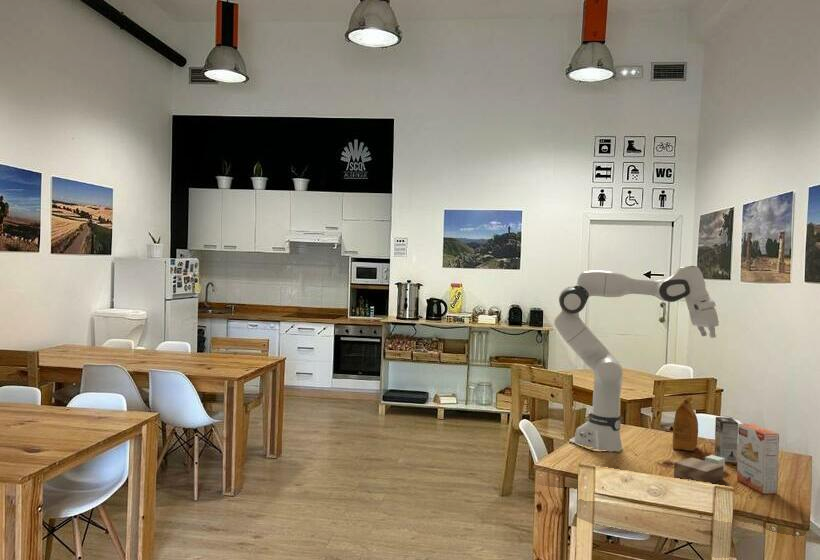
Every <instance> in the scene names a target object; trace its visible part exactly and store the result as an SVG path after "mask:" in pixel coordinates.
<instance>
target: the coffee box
mask: <svg viewBox="0 0 820 560" xmlns="http://www.w3.org/2000/svg"><path fill="white" fill-rule="evenodd" d="M738 427H739V422H737V421H736V420H735V419H734V418H733V417H726V416H725V417H724V416H723V417H722V416H716V417H715V427H714V428H715V431H714V432H715V433H714V434H715V435H714V456H718V457H722V458H725V463H736V464H737V463H738Z"/></svg>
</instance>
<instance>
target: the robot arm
mask: <svg viewBox="0 0 820 560" xmlns="http://www.w3.org/2000/svg"><path fill="white" fill-rule="evenodd" d="M626 295H627V296H628V295H644V296H653V297H656V298H658V299H659V300H661V301H664V302H667V303H668V302H669V303H675V302H678V301H679V300H682V299H683V298H684V300H685V304H686V306H687V309H688V313H689V316H690V317H689V318H690V321H691V324H692V325H693V326H696V327H697V329H698V331H699V333H700V335H701V337H707V331H706V329H705V328H707V329H708V331H709V333H708V334H709V338H712V339H713V338H716V337H717V334H716V327H719V325H720V324H719V322H720V321H719V317H718V313H717V309H716V308H715V307H716V306H717V305H716V303H715V301H714V300H713V299H712V298H711V297H710V296H709V295H710V294H709V293H708V290H707V288H706V281H705V278H704V275H703V273H702V271H701V269H700V267H698V266H695V265H685V266H680V267H678V268H677V270H675V272H674V273H673V274H671V275H670V276H669V277H664V278H661V279H657V280H648V279H647V280H645V279H637V278H633V277H632V278H631V277H629V276H627V275H625V274H622V273H619V272H615V271H611V270H586V271H582V272H581V273H580V274H579V276H578V277H577V282H576V285H573V286H568V287H566V288H564V289H563V290H562V291H561V292H560V294H559V297H558V303H559V307H560V308H561V312H560V313H558V315H557V316H556V318H555V319H554V322H553V324H554V326H555V328H556V330H557V331H558V333H559V334H560V336H561V338H562V339H563V340H564V342H566V343H567V344H568V346H569V347H570V348H571V350H573V352H574V353H575V354H576V355H577V356H578V358H580V360H582V362H583V363H584V364H585V365H586V366H587V367H588V368H589V369H590V370H591V371H592V373H593V374H594V381H593V390H592V391H593V393H592V412H590V413H587V414H586V417H587V418H589V419H588V421H585V423H582V424H581V425H579V426H578V427H576V429H575V431H574V432H575V433H574V437H572V438H570V439H569V441H568V442H569V443H570V441H571V442H573V443H577V444H580V445H583V446H587V447H593V448H591V449H599V450H606V451H619V452H621V451H620V450H622V449H623V448H624V447H623V446H622V445H623V444H622V440H621V439H622V438H621V422H622V421H621V420H622V419H621V415H620V413H621V394H622V393H621V392H622V385H623V375H624V374H623V367H622V365H621V364H620V362H619V361H618V360H617V358H616V357H615V356H614V355H613V354H612V353H611V352H610V351H609V350H608V348H607V347H606V346H605V345H604V344H603V343H602V342H601V341H600V340H599V338H598V337H597V336H596V335H595V334H594V332H593V331H592V330H591V329H590V328H589V327H588V325H586V323H585V322H584V321H583V320H582V319H581V317H580V312H582V311H583V309H585V307H586V304H587V302H588V300H589V298H590V297H601V298H603V297H604V298H621V297H623V296H626ZM573 443H572V444H573ZM623 450H624V449H623ZM623 450H622V451H623Z"/></svg>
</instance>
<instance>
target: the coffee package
mask: <svg viewBox="0 0 820 560" xmlns="http://www.w3.org/2000/svg"><path fill="white" fill-rule="evenodd" d="M682 399H683V402H682V403H681V404H680V405H679V406H678V408H677V409H676V411H675V414H674V421H673V428H672V444H671V445H672V449H673V450H679V451H688V452H691V451H692V452H694V451H695V450H696V448H697V445H698V438H699V422H698V417H697V415H696V413H695V411H694V409H693V407H692V405H691V401H693V397H692V396H691V395H688V396H686V397H683V398H682Z"/></svg>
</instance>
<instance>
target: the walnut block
mask: <svg viewBox="0 0 820 560" xmlns="http://www.w3.org/2000/svg"><path fill="white" fill-rule="evenodd" d="M673 463H674V464H673V466H674V467H673V477H676V478H679V479H682V478H685V479H691V480H696V481H703V482H710V483H713V484H715V483H717V482H716V481H718V482H720V481H719V480H721V481H723V480H724V472H723V466H722V465H718V464H714V463H711V462H707V461H705V460H702V459H699V458H696V457H691V456H690V457H687V458H685V459H682V460H679V461H675V462H673ZM685 479H684V480H685ZM722 479H723V480H722Z"/></svg>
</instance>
